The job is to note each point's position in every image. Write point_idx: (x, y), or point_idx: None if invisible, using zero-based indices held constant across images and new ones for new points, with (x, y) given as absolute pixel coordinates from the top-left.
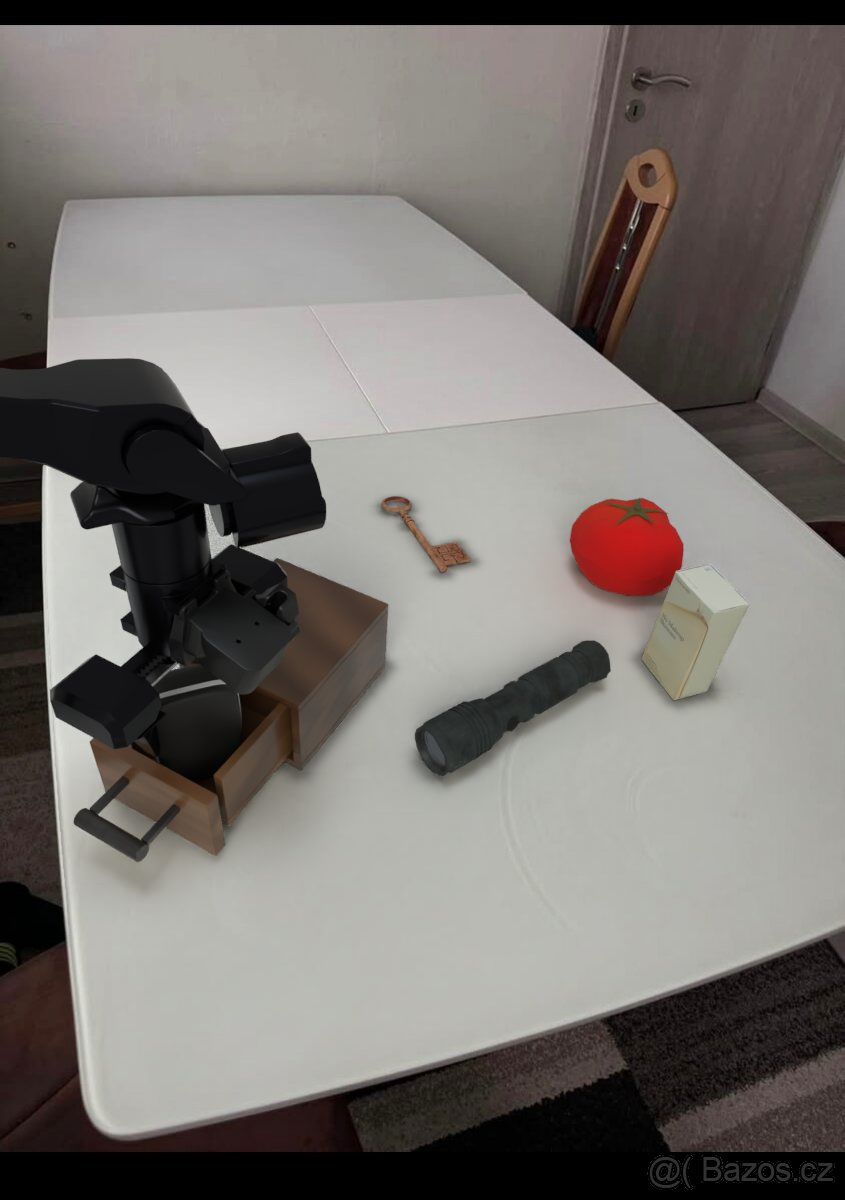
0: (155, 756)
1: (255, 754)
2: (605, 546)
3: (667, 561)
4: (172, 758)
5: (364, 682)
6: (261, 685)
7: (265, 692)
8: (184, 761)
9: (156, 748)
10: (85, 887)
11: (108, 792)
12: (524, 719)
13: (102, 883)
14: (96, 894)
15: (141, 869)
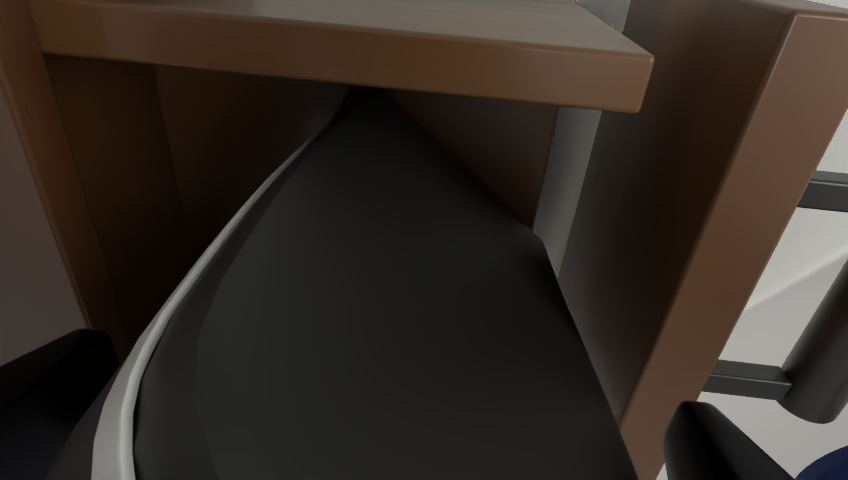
0: (718, 412)
1: (371, 11)
2: None
3: None
4: (553, 307)
5: None
6: (27, 196)
7: (47, 153)
8: (519, 260)
9: (760, 468)
10: (810, 249)
11: (709, 386)
12: None
13: (794, 223)
14: (827, 218)
15: None
